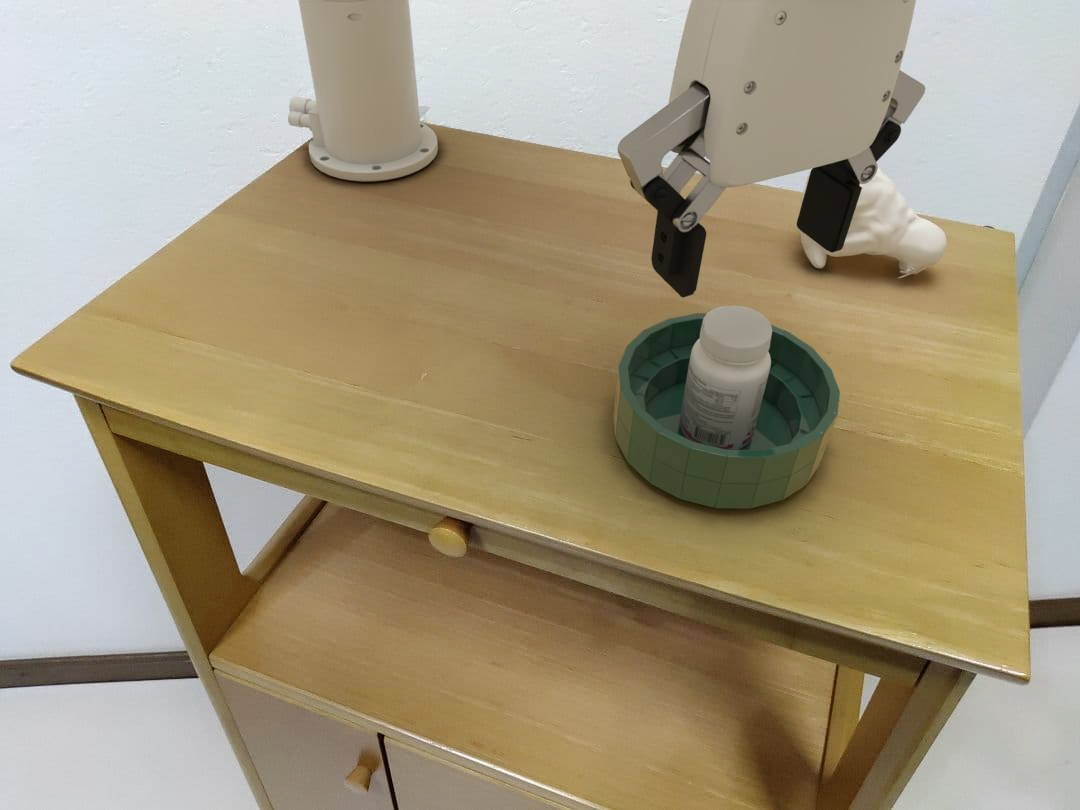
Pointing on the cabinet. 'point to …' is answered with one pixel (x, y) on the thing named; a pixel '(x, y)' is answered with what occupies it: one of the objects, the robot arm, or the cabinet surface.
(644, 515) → the cabinet surface
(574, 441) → the cabinet surface
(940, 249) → the white irregular piece
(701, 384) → the pill bottle
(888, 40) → the robot arm
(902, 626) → the cabinet surface
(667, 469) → the bowl
